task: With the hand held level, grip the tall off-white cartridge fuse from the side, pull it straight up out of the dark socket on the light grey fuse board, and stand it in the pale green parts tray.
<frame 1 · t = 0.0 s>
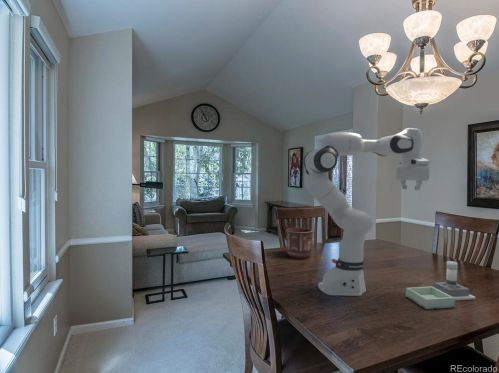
hand: (410, 189, 150), 48 cm above the table, tool pointing down, fingers open, 8 cm apart
parts tray: (429, 301, 133), on the table
fuse: (451, 292, 141), point 1 cm above the table, touching fuse board
fuse board: (451, 294, 141), on the table
pottery: (298, 256, 204), on the table
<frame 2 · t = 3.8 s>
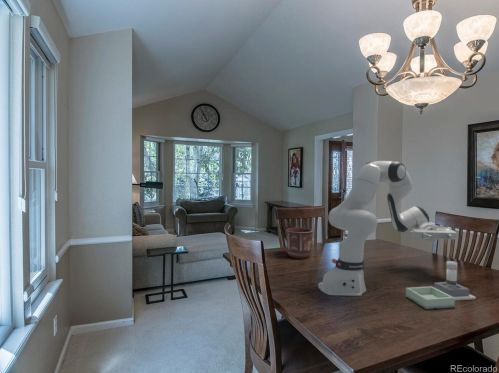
hand: (440, 237, 152), 24 cm above the table, tool horizontal, fingers open, 8 cm apart
nothing on the table moved.
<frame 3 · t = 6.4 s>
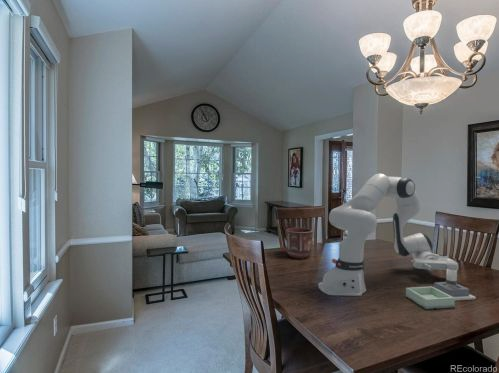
hand: (442, 269, 149), 9 cm above the table, tool horizontal, fingers open, 8 cm apart
nothing on the table moved.
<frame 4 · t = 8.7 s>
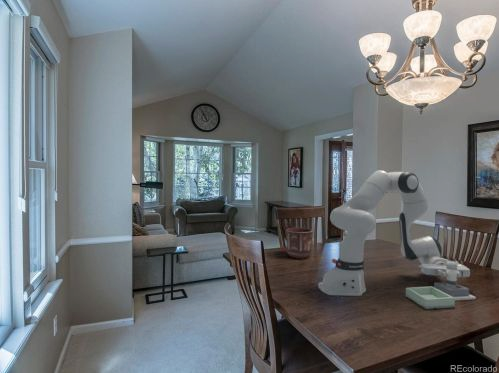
hand: (452, 275, 139), 9 cm above the table, tool horizontal, fingers closed on fuse, 4 cm apart
fuse: (451, 292, 141), point 1 cm above the table, touching fuse board, gripper
everything else where it was.
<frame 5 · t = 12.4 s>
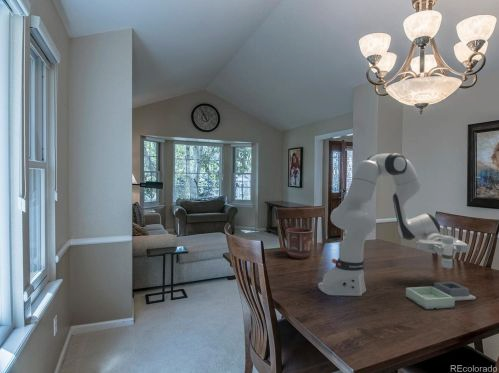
hand: (448, 250, 136), 22 cm above the table, tool horizontal, fingers closed on fuse, 4 cm apart
fuse: (446, 267, 138), point 14 cm above the table, touching gripper
everything else where it was.
when the fingers open (10 cm above the table, at t = 16.0 s): fuse drops 1 cm, resting on parts tray.
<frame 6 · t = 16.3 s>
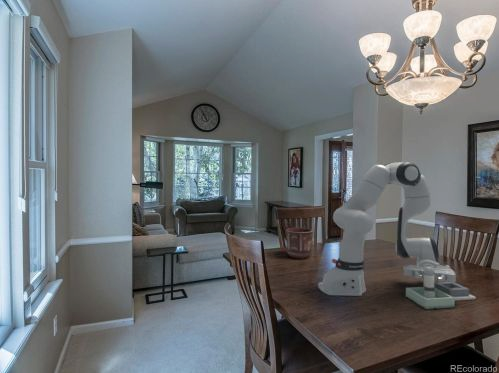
hand: (429, 278, 131), 10 cm above the table, tool horizontal, fingers open, 6 cm apart
fuse: (429, 299, 133), point 1 cm above the table, touching parts tray
everything else where it was.
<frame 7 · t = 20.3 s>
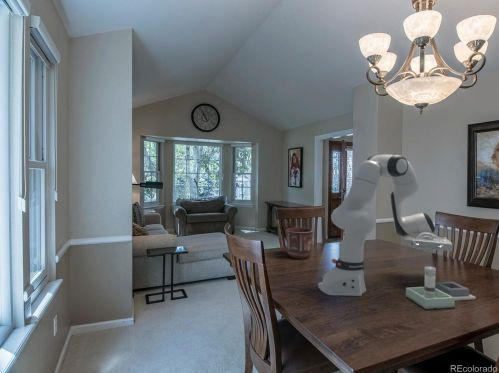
hand: (428, 247, 141), 22 cm above the table, tool horizontal, fingers open, 8 cm apart
nothing on the table moved.
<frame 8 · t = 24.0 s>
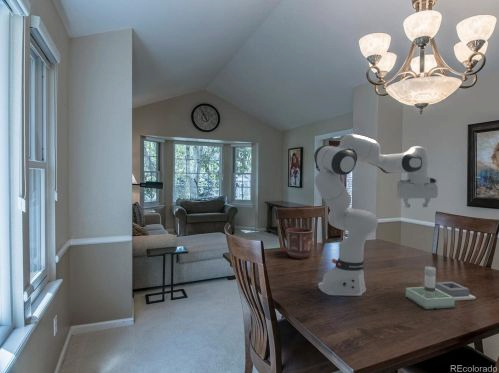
hand: (416, 207, 151), 39 cm above the table, tool pointing down, fingers open, 8 cm apart
nothing on the table moved.
at the end: fuse inside the target area on the parts tray (0.1 cm from its centre), point 1.0 cm above the parts tray's base; the gripper is holding nothing; fuse tilted 0° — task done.
